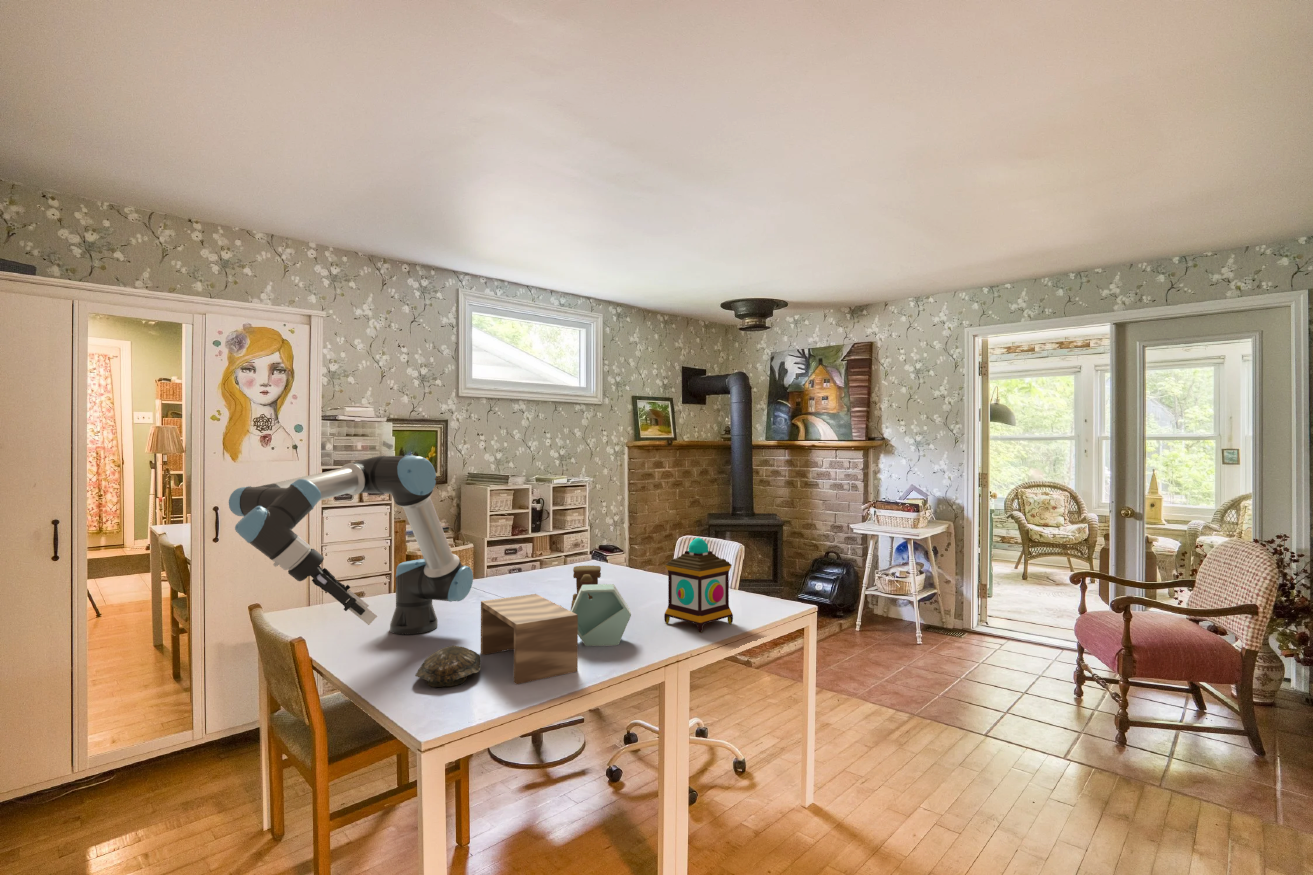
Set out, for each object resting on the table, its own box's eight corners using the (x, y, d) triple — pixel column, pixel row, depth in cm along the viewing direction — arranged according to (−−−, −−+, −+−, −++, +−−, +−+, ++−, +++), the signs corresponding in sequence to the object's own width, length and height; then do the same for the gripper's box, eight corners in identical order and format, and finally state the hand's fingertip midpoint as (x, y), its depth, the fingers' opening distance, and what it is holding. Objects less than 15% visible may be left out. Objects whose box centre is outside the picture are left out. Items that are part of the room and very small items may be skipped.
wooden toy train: (572, 609, 240) (572, 565, 240) (602, 608, 241) (602, 564, 241) (569, 623, 220) (570, 575, 220) (602, 622, 221) (602, 575, 221)
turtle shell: (407, 671, 156) (425, 633, 176) (409, 704, 158) (427, 663, 177) (474, 667, 158) (484, 630, 178) (476, 699, 160) (486, 659, 180)
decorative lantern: (658, 623, 220) (658, 537, 221) (696, 613, 234) (696, 532, 234) (700, 635, 205) (700, 543, 206) (738, 623, 219) (738, 537, 220)
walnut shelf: (480, 653, 188) (480, 601, 188) (535, 643, 197) (535, 593, 197) (516, 684, 162) (516, 624, 163) (577, 671, 172) (577, 614, 172)
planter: (595, 660, 194) (558, 605, 194) (595, 652, 202) (560, 599, 201) (640, 629, 196) (604, 574, 195) (639, 622, 203) (604, 569, 203)
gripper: (283, 564, 158) (350, 616, 166) (289, 580, 138) (364, 639, 146) (307, 541, 161) (372, 593, 169) (316, 554, 141) (389, 613, 149)
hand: (368, 614), depth 157 cm, fingers open, 12 cm apart
